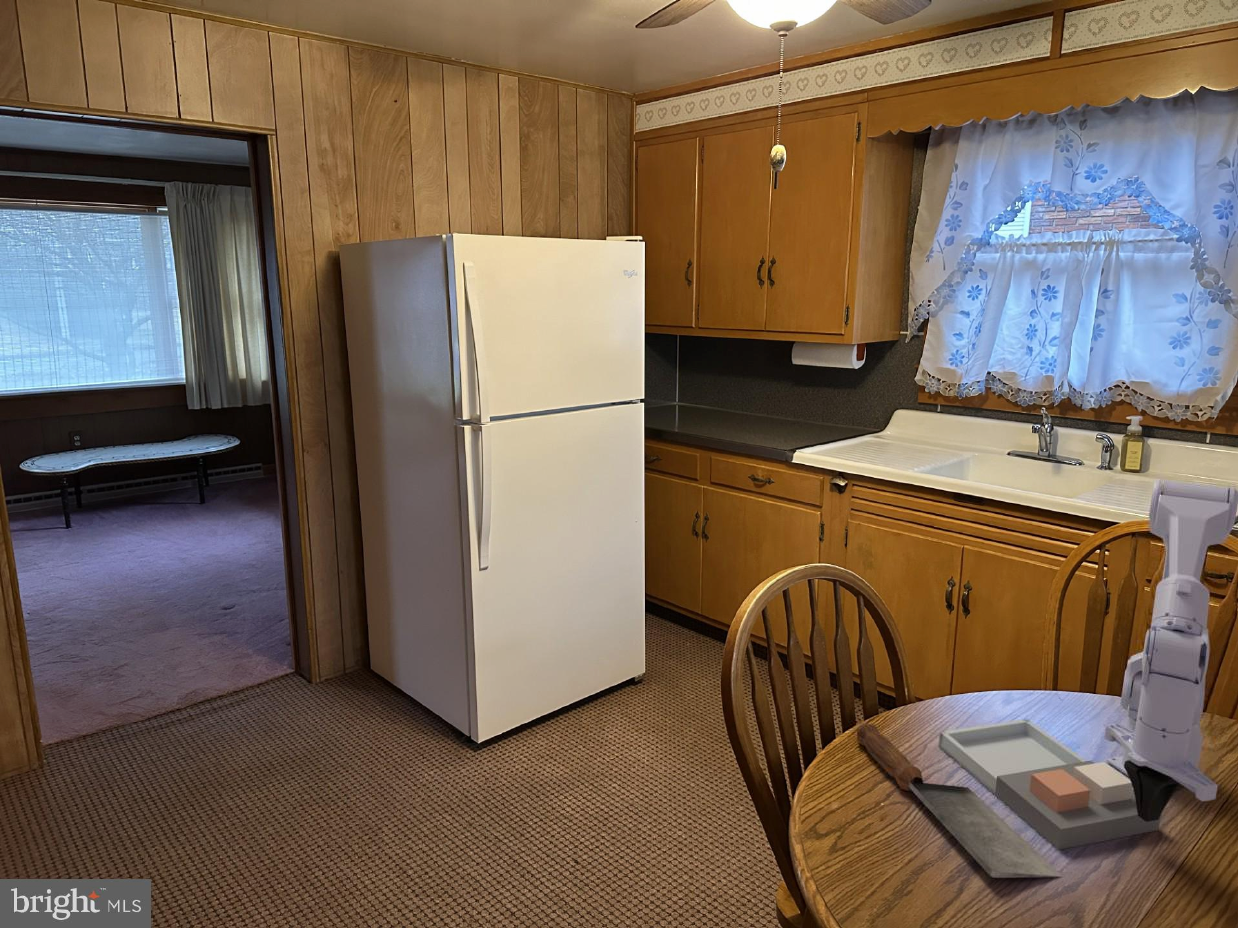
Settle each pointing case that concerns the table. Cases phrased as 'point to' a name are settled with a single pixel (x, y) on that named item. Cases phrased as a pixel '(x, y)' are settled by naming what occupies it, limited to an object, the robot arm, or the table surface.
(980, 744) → the tray
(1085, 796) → the tile terracotta
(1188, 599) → the robot arm
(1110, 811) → the board
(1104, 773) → the tile white
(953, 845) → the table surface
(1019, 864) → the meat cleaver
